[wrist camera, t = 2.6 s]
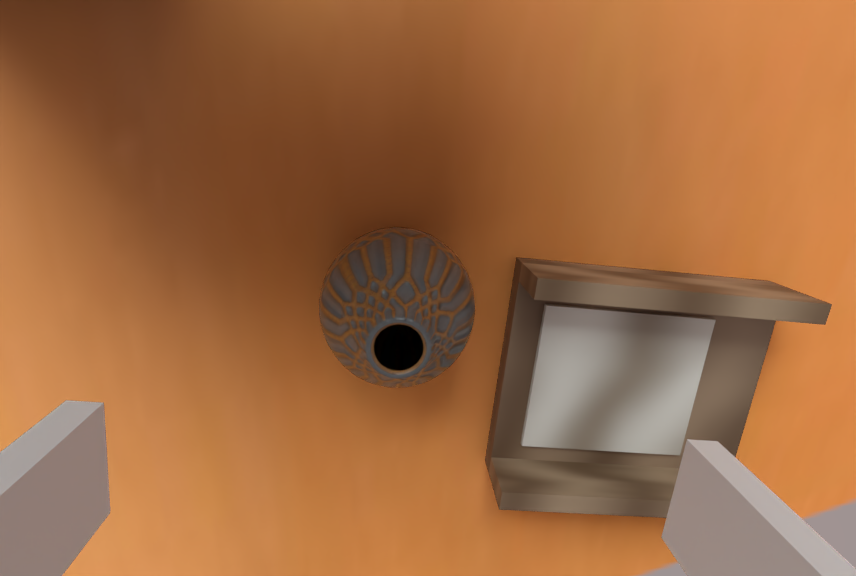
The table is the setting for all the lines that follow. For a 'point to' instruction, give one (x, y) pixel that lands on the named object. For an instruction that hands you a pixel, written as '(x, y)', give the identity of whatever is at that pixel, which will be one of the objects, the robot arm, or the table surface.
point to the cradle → (624, 380)
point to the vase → (396, 307)
